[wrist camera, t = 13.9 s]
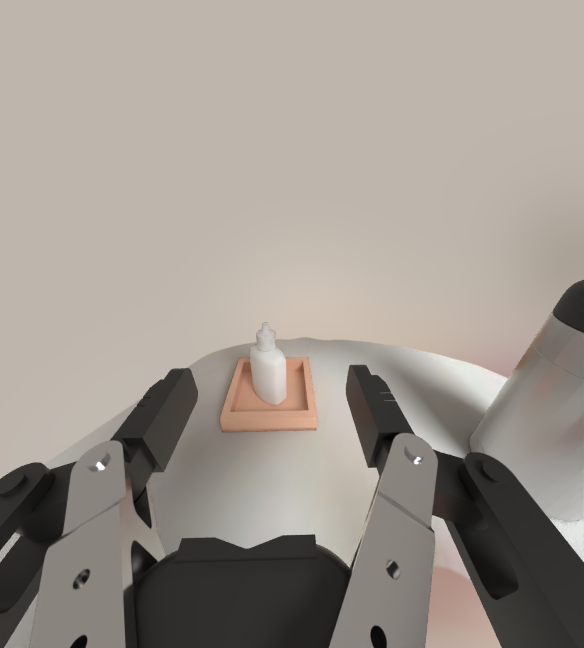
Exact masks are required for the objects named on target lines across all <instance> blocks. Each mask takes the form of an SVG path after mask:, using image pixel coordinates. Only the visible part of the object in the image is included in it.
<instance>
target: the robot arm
mask: <svg viewBox="0 0 584 648" xmlns="http://www.w3.org/2000/svg"><path fill="white" fill-rule="evenodd" d="M346 396H347V401H348V404H349V407H350V410H351V414H352V417H353V420H354V423H355V427H356V430H357V433H358V436H359V440H360V443H361V446H362V449H363V453H364V456H365V459H366V462H367V466H368V468H376V467H377V470H378V473H379V476H380V477H379V480H378V483H377V486H376V489H375V492H374V495H373V498H372V501H371V504H370V508H369V511H368V514H367V517H366V520H365V523H364V526H363V529H362V532H361V535H360V538H359V540H358V543H357V546H356V549H355V553H354V556H353V559H352V562H351V565H350V568H349V567H348V566H347V565H346V563H344V562H343V561H342V560H341V559H340V558H339V557H338V556H337V555H336V554H334V553H333V552H332V551H330V550H328V549H326V548H325V547H323V546H320V545H317V544H316V540H315V535H283V536H280V537H277V538H275V539H272V540H270V541H267V542H265V543H262V544H260V545H257V546H255V547H252V548H249V549H245V548H242V547H239V546H236V545H234V544H231V543H228V542H226V541H223V540H220V539H217V538H182V540H181V543H180V546H179V549H178V550H177V551H175V552H173V553H171V554H169V555H168V556H166V557H165V552H164V549H163V545H162V543H161V540H160V538H159V535H158V532H157V528H156V521H155V515H154V509H153V503H152V497H151V490H150V485H149V482H148V480H149V478H150V476H151V474H152V472H164V470H165V468H166V466H167V464H168V462H169V460H170V457H171V455H172V453H173V451H174V449H175V447H176V445H177V442H178V440H179V438H180V436H181V434H182V432H183V430H184V428H185V425H186V423H187V421H188V419H189V417H190V415H191V413H192V410H193V408H194V406H195V404H196V402H197V398H198V390H197V387H196V384H195V381H194V378H193V375H192V372H191V370H190V369H189V368H183V369H182V368H181V369H172V370H171V371H170V372H169V373H168V375H167V376H166V377H165V379H164V380H159V381H158V382H157V383H156V384H154V385H153V386H152V387H150V389H149V390H148V391H147V393H146V394H145V395H144V396H143V399H141V400H140V402H139V403H138V404H137V407H135V408H134V410H133V411H132V412H131V413H130V415H129V416H128V417H127V419H126V420H125V421H124V423H123V424H122V425H121V427H120V428H119V429H118V431H117V432H116V433H115V434H114V436H113V437H112V438H111V440H110V441H106V442H103V443H101V444H99V445H97V446H95V447H93V448H92V449H90V450H89V451H87V452H86V453H85V454H84V455H83V456H82V457H81V458H80V459H79V460H78V461H76V462H73V463H70V464H67V465H63V466H60V467H57V468H54V469H51V470H49V469H48V468H47V467H46V466H45V465H44V464H42V463H30V464H27V465H24V466H21V467H19V468H17V469H16V470H14V471H12V472H10V473H8V474H7V475H5V476H4V477H3V478H1V479H0V550H1V549H2V548H3V546H4V545H5V544H6V543H7V541H8V540H9V539H10V538H11V536H12V535H13V534H14V533H15V532H16V533H17V534H19V535H21V536H20V538H19V539H18V540H17V542H16V543H15V544H14V546H13V547H12V548H11V549H10V551H9V552H8V553H7V555H6V556H5V557H4V559H3V560H2V561H1V563H0V648H4V647H5V645H6V643H7V642H8V640H9V639H10V637H11V635H12V634H13V632H14V630H15V629H16V627H17V625H18V624H19V622H20V621H21V619H22V617H23V616H24V614H25V612H26V611H27V609H28V607H29V606H30V604H31V603H32V601H33V599H34V598H35V596H36V594H37V593H38V591H39V593H38V599H37V605H36V610H35V616H34V622H33V628H32V633H31V639H30V645H29V648H425V643H426V632H427V622H428V611H429V601H430V591H431V581H432V570H433V560H434V550H435V534H434V531H433V530H432V528H431V518H432V515H434V516H437V517H440V518H442V519H444V521H445V523H446V525H447V527H448V530H449V532H450V534H451V536H452V538H453V541H454V543H455V545H456V547H457V549H458V552H459V554H460V556H461V558H462V561H463V563H464V565H465V567H466V569H467V572H468V574H469V576H470V578H471V580H472V583H473V585H474V587H475V589H476V591H477V594H478V596H479V598H480V600H481V602H482V605H483V607H484V609H485V611H486V614H487V616H488V618H489V620H490V622H491V625H492V627H493V629H494V631H495V633H496V636H497V638H498V640H499V642H500V645H501V647H502V648H584V562H583V561H582V560H581V559H580V557H579V556H578V555H577V553H576V552H575V551H574V550H573V548H572V547H571V546H570V545H569V543H568V542H567V541H566V540H565V538H564V537H563V536H562V534H561V533H560V532H559V531H558V529H557V528H556V527H555V526H554V524H553V523H552V522H551V521H550V519H549V518H548V517H550V518H553V519H557V520H562V521H579V520H581V519H583V518H584V280H582V281H579V282H577V283H575V284H573V285H572V286H571V287H570V288H568V290H567V291H566V292H565V293H564V294H563V296H562V297H561V299H560V300H559V302H558V303H557V305H556V306H555V308H554V309H553V312H551V314H550V315H549V317H548V319H547V320H546V322H545V323H544V325H543V326H542V328H541V329H540V331H539V332H538V334H537V336H536V337H535V338H534V340H533V342H532V343H531V345H530V346H529V348H528V349H527V351H526V353H525V354H524V355H523V357H522V359H521V360H520V362H519V363H518V365H517V366H516V368H515V369H514V371H513V372H512V374H511V375H510V377H509V378H508V380H507V381H506V383H505V384H504V386H503V388H502V389H501V391H500V392H499V394H498V395H497V397H496V398H495V400H494V401H493V403H492V404H491V406H490V407H489V409H488V410H487V412H486V413H485V415H484V416H483V418H482V419H481V421H480V423H479V424H478V426H477V427H476V429H475V430H474V432H473V433H472V435H471V437H470V442H469V444H470V449H471V452H472V453H469V454H467V456H466V457H465V458H464V459H462V458H459V457H455V456H452V455H448V454H445V453H441V452H438V451H436V450H434V449H432V447H431V446H430V445H429V444H428V443H427V442H426V441H424V440H423V439H422V438H420V437H418V436H416V435H415V434H414V432H413V431H412V429H411V427H410V425H409V423H408V422H407V420H406V418H405V416H404V415H403V413H402V411H401V409H400V407H399V406H398V404H397V402H396V401H395V398H394V397H393V395H392V394H391V391H390V389H389V388H388V386H387V384H386V382H384V381H383V380H382V379H381V378H380V377H379V376H378V375H371V374H370V372H369V370H368V368H367V366H366V365H350V366H349V371H348V377H347V384H346ZM547 516H548V517H547Z"/></svg>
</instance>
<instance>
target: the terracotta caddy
mask: <svg viewBox="0 0 584 648" xmlns="http://www.w3.org/2000/svg"><path fill="white" fill-rule="evenodd" d="M286 385H287V397H286V399H285V400H284V401H282V402H281V403H280V404H279V405H272V404H269V403H267V402H265V401H263V400H262V399H261V398H259V397H258V395H257V394H256V392H255V391H254V388H253V381H252V372H251V363H250V358H239V360H238V363H237V366H236V370H235V373H234V376H233V379H232V382H231V385H230V388H229V391H228V394H227V397H226V401H225V404H224V407H223V410H222V413H221V416H220V423H221V427H222V431H223V432H246V431H296V430H316V428H317V410H316V404H315V397H314V391H313V384H312V378H311V371H310V365H309V358H308V357H305V358H286Z"/></svg>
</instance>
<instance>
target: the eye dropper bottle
mask: <svg viewBox="0 0 584 648" xmlns="http://www.w3.org/2000/svg"><path fill="white" fill-rule="evenodd" d="M256 337H257V344H255V345H254V346H252V347H251V348H250V363H251V372H252V381H253V388H254V391H255V392H256V394H257V395H258V397H259V398H261V399H262V400H263V401H265V402H267V403H269V404H272V405H279V404H280V403H281V402H282V401H284V400H285V399H286V397H287V385H286V358H285V356H284V354H283V353H282V352H281V350H280V349H279V348H278V347H277V346H276V340H275V332H274V331H273V330H271V329H269V326H268V323H267V322H264V323H263V324H262V329H261V330H259V331H258V332H257V334H256Z"/></svg>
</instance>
